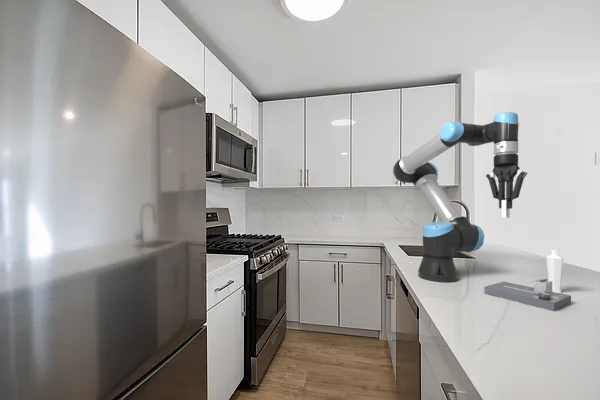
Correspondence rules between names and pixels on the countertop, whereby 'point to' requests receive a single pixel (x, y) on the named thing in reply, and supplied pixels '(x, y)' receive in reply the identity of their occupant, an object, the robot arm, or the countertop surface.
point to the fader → (543, 286)
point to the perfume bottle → (555, 270)
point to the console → (528, 295)
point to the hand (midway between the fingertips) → (505, 217)
